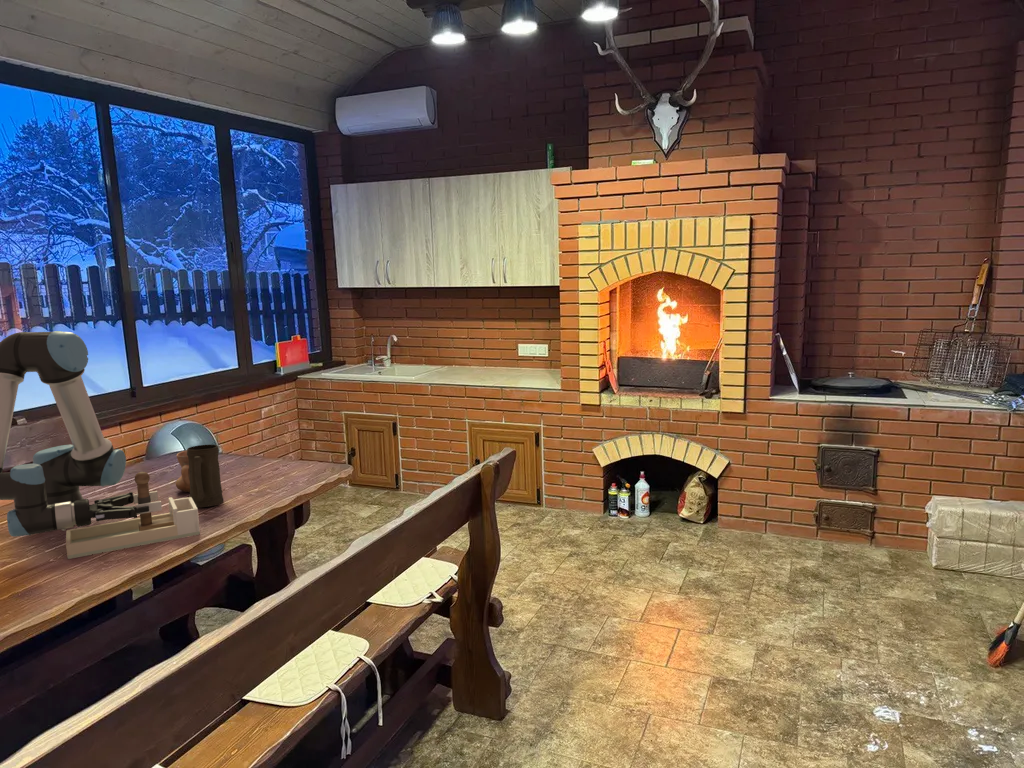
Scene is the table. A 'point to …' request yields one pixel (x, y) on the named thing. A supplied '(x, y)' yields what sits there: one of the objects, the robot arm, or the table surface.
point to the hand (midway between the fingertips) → (159, 500)
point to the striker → (144, 497)
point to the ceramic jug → (183, 472)
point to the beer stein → (204, 475)
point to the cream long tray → (133, 531)
